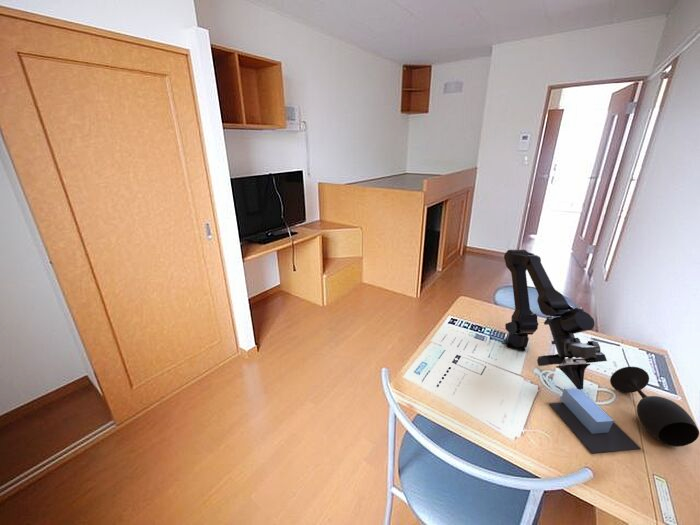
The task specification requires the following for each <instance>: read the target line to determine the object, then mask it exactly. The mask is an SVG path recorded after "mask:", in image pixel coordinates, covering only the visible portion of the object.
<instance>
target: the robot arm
mask: <svg viewBox="0 0 700 525" xmlns="http://www.w3.org/2000/svg"><path fill="white" fill-rule="evenodd" d="M503 260H504V264H505V266H506V268H507V269H508V271H509V272H510V273H511V274H510V275H511V283H512V292H513V302H514V311H513V312H512V315H511V317H510V318H511V321H510V322H507V323H505V330H506V331H507V333H508V334H507V337H506V348H510V349H514V350H517V351H521V352H526V348H527V347H528V345H529V340H530V336H529V335H534V334H535V333H536V332H537V330H538V329H539V324H540V323H539V322H538V315H537V313H534V312H533V311H532V310H531V306H530V296H529V288H528V280H527V273H528V275H529V277H530V279H531V281H532V283H533V287H535V290H536V292H537V295H538V296H537V300H536V301H537V305H538V308H539V311H540V313H541V314H542V315H545V316H547V317H546V319H545V320H544V321H543V325H544V326H549V329H550V333H551V337H552V339H553V340H551V341H550V342H551V345H554V346H555V349H556V352H557V353H555V354H547V355H540V356H538V357H537V359H536V362H537V366H538V367H544V366H551V365H552V366H553V365H556V366H555V368H557V369H559V370H560V371H561V372H562V373H563V374H564V375H565V376H566V377H567V378H568V379H569V381H570V382H571V383H572V384H573V385H574V387H575V388H577V389H581V390H584V383H585V371H586V369H587V368H588V367H589V366H591V363H601V362H608V360H607V357H606V354H605V353H603V352H602V351H601V345H600V344H599V342H598V341H597V340H588V341H587V342H581V340H580V338H579V337H575V334H579V333H584V332H588V331H591V330H593V329H594V328H595V320H594V319H595V318H594V317H592V315H590V314H589V313H588V312H586V311H584V308H583V307H575V308H574V307H573V306H572V305H571V304H569V302H568V301H567V299H566V297H565V296H564V295H563V294H562V293H561V292H560V291H558V290H556V289H555V287H554V285H553V284H552V282H551V280H550V279H551V278H550V277H549V275H548V273H547V271H546V270H545V267H544V265H543V264H542V258H541V256H539V255H537V254H535V253H532V252H529V251H528V250H526V249H508V250H507V251H506V252H505V253H504V255H503Z"/></svg>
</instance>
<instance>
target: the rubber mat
mask: <svg viewBox="0 0 700 525" xmlns="http://www.w3.org/2000/svg"><path fill="white" fill-rule="evenodd" d="M548 405H549V406H550V408H552V409H553V411H554V412H555V414H556V415H557V416H558V417H559V418H560V419H561V421H562V422H564V424H565V425H566V426H567V428H569V430H570V431H571V432H572V433H573V434H574V436H576V438H577V439H578V440H579V441H580V442H581V444H583V446H584V447H585V448H586V449H587V450H588V451H589V453H590V454H603V453H614V452H615V453H616V452H625V451H636V450H637V451H638V450H641V447H640V446H639V445H638V444H637V443H636V442H635V441H634V440H633V438H631V437H630V436H629V435H628V434H626V432H625V431H623V430H622V429H621V428H620V427H619V426H618V424H616V423H615V422H614V421H613V423H612V426H611V428H610V430H609V432H607V433H595V434H592V433H591V432H590V431H589V430H588V429H587V428H586V427H585V426H584V425H583V424H582V423H581V421H580V420H579V419H578V418H577V417H576V416H575V415H574V414H573V413H572V412H571V411H570V410H569V408H568V407H567V406H566V405H565V404H564V403H563V402H562V401H561V402H549V403H548Z"/></svg>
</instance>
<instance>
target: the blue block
mask: <svg viewBox="0 0 700 525" xmlns="http://www.w3.org/2000/svg"><path fill="white" fill-rule="evenodd" d="M560 401H561V403H562V402H563V403H564V404H565V405H566V406H567V407H568V408H569V410H570V411H571V412H572V413H573V414H574V415H575V416H576V417H577V418H578V419H579V420H580V421H581V423H582V424H583V425H584V426H585V427H586V428H587V429H588V430H589V431H590V432H591V433H592V434H595V433H607V432H609V430H610V428H611V426H612V423H613V422H614V419H613V418H611V417H610V416H609V414H607V413H606V412H605V411H604V410H603V409H602V408H601V407H600V406H599V405H598V404H597V403H596V402H595V401H594V400H593V399H592V398H591V397H589V395H587V394H586V393H585V392H584V391H583V389H577V387H569V388H563V391H562V394H561V397H560Z"/></svg>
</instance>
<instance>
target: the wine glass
mask: <svg viewBox="0 0 700 525" xmlns="http://www.w3.org/2000/svg"><path fill="white" fill-rule="evenodd" d="M609 381H610V382H609V383H610V385H611V387H612V388H613V389H614V390H615V391H618V392H620V393H624V394H632V393H636V392H637V393H638V395H639V396H640V397H641V399H640V400H639V401H638V404H637V406H636V414H637V417H638V420H639V421H640V423H641V425H642V426H643V427H644V429H646V431H647V432H649V433H650V435H652V436H653V437H654V438H655V439H656V440H658V441H659V442H661V443H662V444H664V445H666V446H669V447H677V448H679V447H685V446H688V445H690V444H692V443H694V442H695V441H697V439H699V437H700V430H699V428H698V426H697V425H696V422H695V421H694V420H693V418H692V417H691V415H690V414H689V413H688V412H687V411H686V410H685V409H684V408H683V407H681V406H680V404H678V403H676V402H675V401H673V400H671V399H669V398H666V397H662V396H658V395H646V394H645V392H643V391H642V390H644V389H645V388H646V387H647V385H648V384H649V382H650V375H649V374H648V372H647V371H646V370H645V369H643V368H641V367H638V366H625V367H621V368H619V369H617V370H615V371H614V372H613V373H612V374H611V376H610V379H609Z"/></svg>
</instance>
